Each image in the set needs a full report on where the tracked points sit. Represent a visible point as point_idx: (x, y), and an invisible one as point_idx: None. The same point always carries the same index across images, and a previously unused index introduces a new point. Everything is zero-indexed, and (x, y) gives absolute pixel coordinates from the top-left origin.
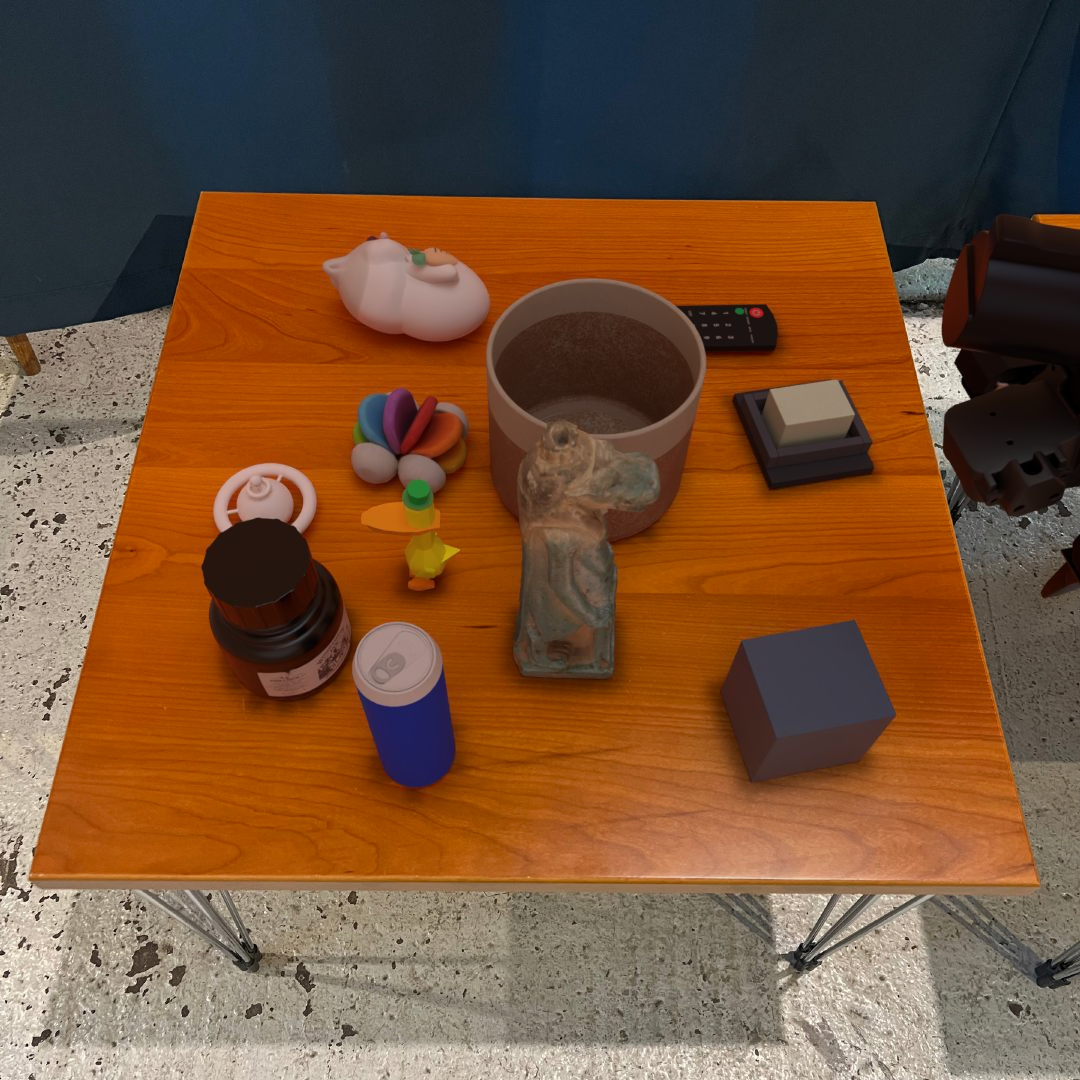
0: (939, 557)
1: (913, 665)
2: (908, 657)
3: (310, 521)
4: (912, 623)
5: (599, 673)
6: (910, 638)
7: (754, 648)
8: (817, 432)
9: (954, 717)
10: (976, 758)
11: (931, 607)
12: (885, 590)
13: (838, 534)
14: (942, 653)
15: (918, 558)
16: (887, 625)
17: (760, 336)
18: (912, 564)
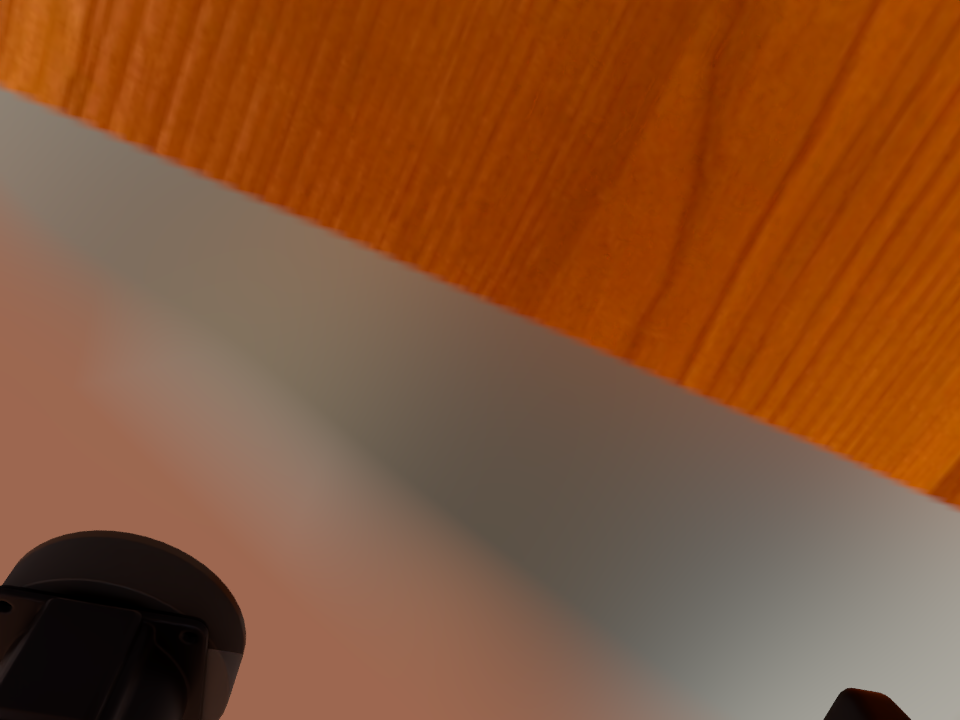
0: (683, 353)
1: (383, 29)
2: (417, 32)
3: None
4: (524, 128)
5: None
6: (478, 86)
7: None
8: None
9: (165, 40)
10: (11, 15)
11: (547, 223)
12: (675, 120)
13: (955, 101)
14: (388, 152)
15: (716, 295)
16: (556, 39)
17: None
18: (708, 264)
